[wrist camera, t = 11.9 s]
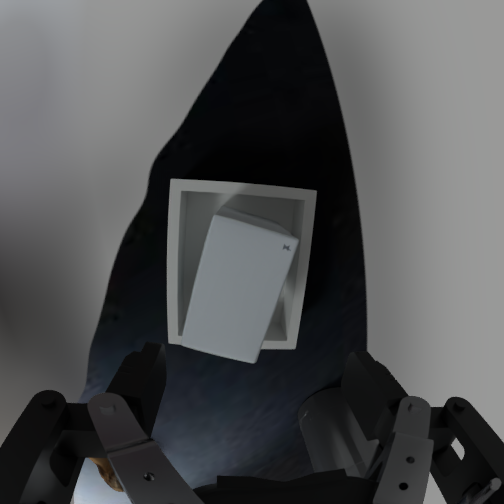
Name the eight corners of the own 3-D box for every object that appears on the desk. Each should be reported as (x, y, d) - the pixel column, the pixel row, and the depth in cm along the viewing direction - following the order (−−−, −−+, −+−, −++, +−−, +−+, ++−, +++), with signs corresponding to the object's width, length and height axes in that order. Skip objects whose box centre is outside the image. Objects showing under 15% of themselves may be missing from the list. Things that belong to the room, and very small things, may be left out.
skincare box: (218, 203, 28) (212, 211, 18) (278, 221, 29) (304, 239, 19) (192, 297, 30) (177, 347, 20) (249, 312, 31) (258, 366, 21)
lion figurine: (143, 457, 37) (135, 494, 28) (125, 461, 37) (115, 496, 28) (84, 404, 34) (64, 441, 25) (67, 411, 34) (48, 445, 25)
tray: (302, 190, 30) (316, 190, 25) (286, 327, 33) (295, 348, 28) (180, 180, 28) (170, 178, 23) (176, 321, 32) (168, 343, 27)
